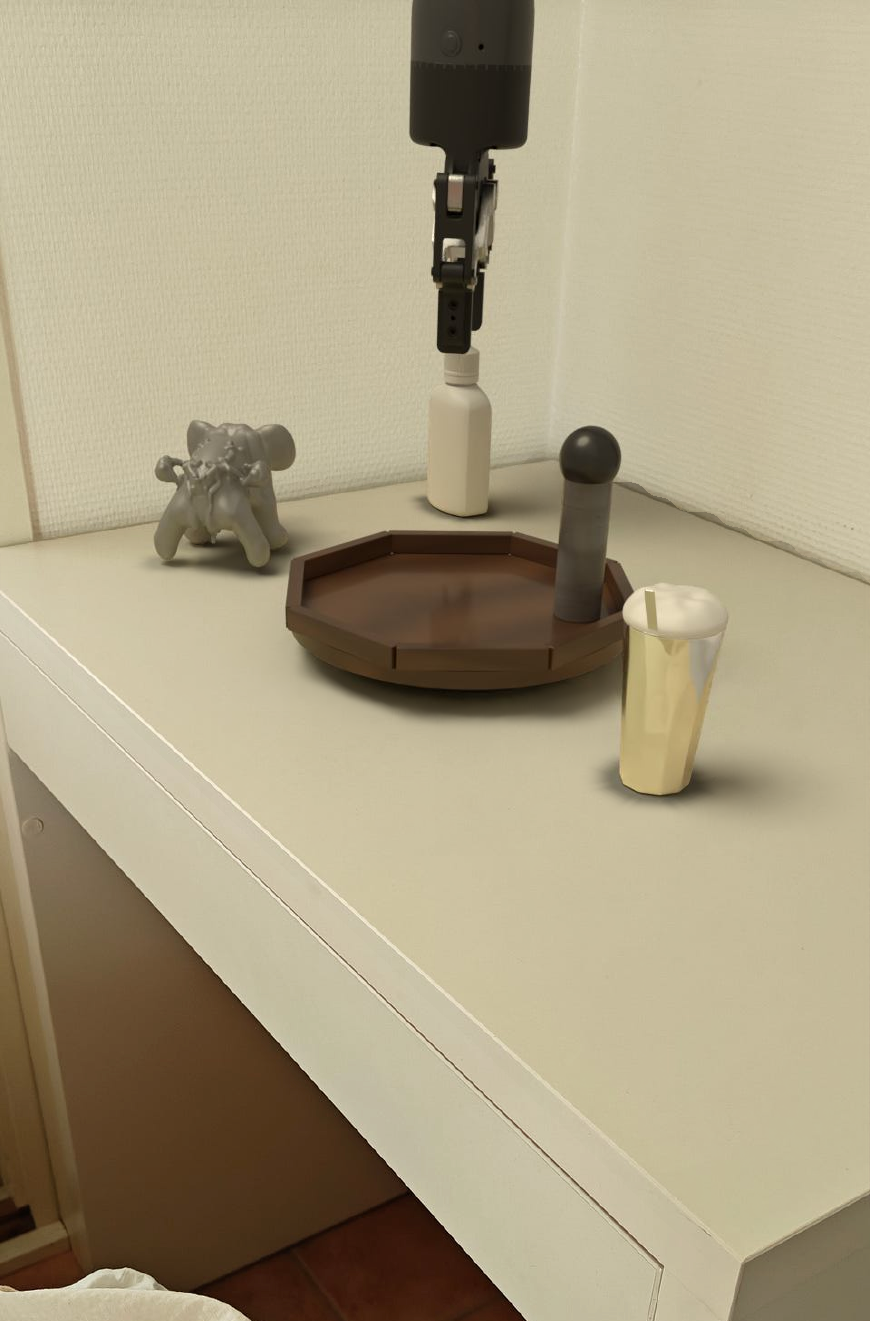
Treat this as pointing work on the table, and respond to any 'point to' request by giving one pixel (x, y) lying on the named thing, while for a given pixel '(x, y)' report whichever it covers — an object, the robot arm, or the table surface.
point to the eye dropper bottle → (459, 439)
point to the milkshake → (666, 682)
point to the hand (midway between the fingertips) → (460, 340)
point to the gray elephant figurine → (226, 488)
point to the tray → (474, 594)
